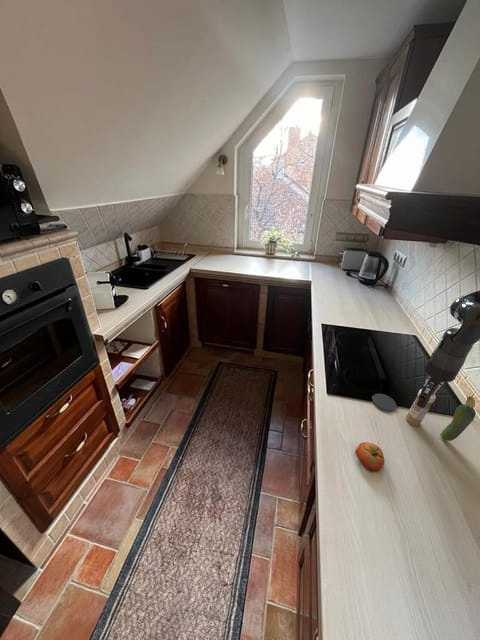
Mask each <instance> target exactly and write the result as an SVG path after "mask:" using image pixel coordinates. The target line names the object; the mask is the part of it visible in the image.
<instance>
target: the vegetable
mask: <svg viewBox="0 0 480 640" xmlns="http://www.w3.org/2000/svg"><path fill="white" fill-rule="evenodd" d="M475 407H476V400H475V397H473V396H472V395H469V396H467V397H466V401H465V403H462V404H459V405H457V407H456V408H455V410H454V413H453V417H452V420H451V421H450V423H449V424H448V425H446V427H444V429H443V430H442V431H441V432H440V434H439V435H440V438H441V440H442V441H444V442H445V441H449V442H450V441H453V440H455V439H457V438H458V437H459V436H460V435H461V434H462V433H463V432H465V430H467V428H468V427H469V426H470V425H471V423H472V422H473V421H474V419H475V417H476V413H477V412H476V410H475Z"/></svg>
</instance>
